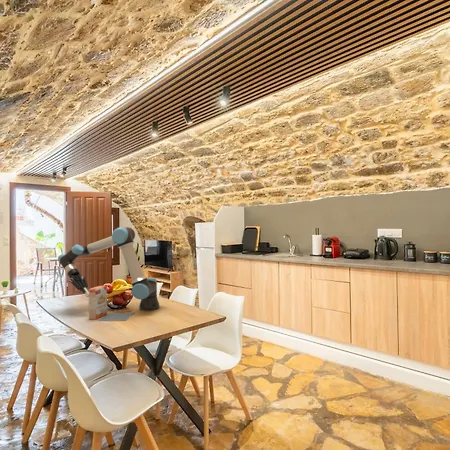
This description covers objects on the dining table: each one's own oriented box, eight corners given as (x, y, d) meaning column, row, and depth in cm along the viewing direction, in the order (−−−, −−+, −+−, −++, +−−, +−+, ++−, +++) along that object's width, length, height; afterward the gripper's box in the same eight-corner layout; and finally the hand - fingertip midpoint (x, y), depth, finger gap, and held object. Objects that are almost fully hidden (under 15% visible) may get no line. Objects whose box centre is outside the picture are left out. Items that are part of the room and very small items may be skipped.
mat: (135, 313, 246) (134, 312, 246) (125, 320, 226) (125, 320, 226) (109, 313, 247) (109, 313, 247) (97, 321, 227) (97, 320, 227)
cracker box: (96, 319, 230) (95, 289, 230) (88, 319, 231) (87, 289, 231) (107, 314, 244) (106, 285, 244) (100, 314, 245) (99, 285, 245)
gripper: (77, 273, 256) (93, 297, 249) (62, 276, 245) (78, 301, 237) (82, 266, 254) (98, 290, 246) (66, 269, 242) (83, 294, 235)
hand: (88, 295), depth 242 cm, fingers closed
